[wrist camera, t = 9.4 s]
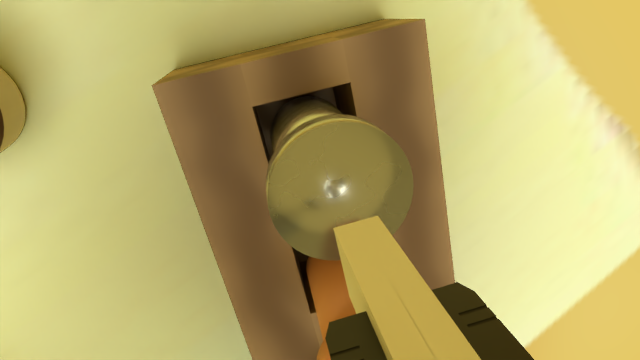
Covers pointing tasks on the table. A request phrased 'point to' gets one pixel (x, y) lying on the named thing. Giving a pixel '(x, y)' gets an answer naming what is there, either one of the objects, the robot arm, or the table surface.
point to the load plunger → (328, 295)
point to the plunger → (332, 175)
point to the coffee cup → (10, 111)
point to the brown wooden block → (256, 151)
